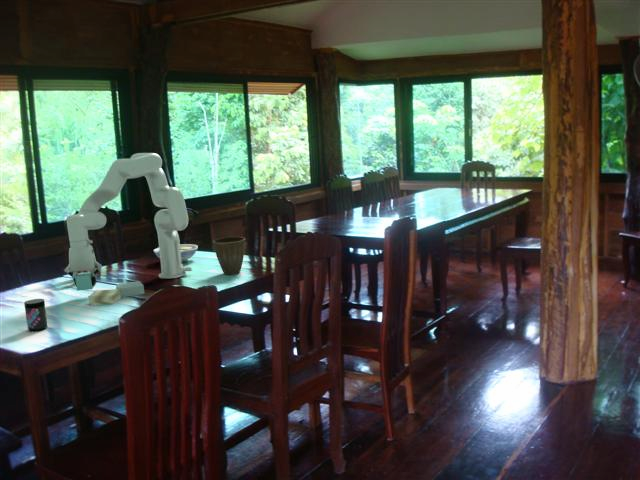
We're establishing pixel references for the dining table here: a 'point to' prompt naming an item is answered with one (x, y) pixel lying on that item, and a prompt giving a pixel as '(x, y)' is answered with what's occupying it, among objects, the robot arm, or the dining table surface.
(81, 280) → the teal cube
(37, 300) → the supplement container
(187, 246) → the ramen bowl
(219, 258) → the plant pot
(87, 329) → the dining table surface
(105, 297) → the tan flat lump
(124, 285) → the slate block
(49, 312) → the dining table surface
